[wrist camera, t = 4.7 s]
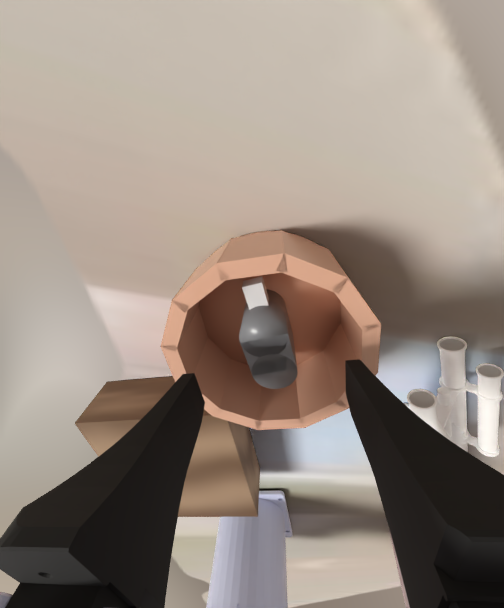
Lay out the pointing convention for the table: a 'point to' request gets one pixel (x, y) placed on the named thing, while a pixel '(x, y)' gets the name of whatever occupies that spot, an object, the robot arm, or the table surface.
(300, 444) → the table surface
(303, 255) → the bowl
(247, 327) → the connector
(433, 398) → the white joined tubes piece
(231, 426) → the board
